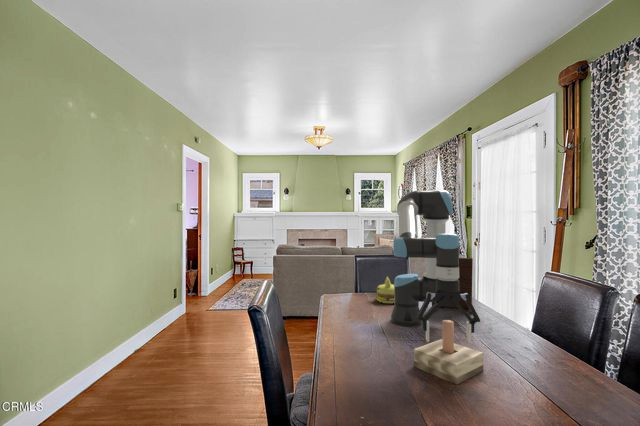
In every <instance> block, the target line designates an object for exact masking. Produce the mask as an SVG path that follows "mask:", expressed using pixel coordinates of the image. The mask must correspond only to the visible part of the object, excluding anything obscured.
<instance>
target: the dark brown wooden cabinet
mask: <svg viewBox="0 0 640 426" xmlns="http://www.w3.org/2000/svg"><path fill="white" fill-rule="evenodd" d="M473 260H474V258H473V257H459V279H457V280H459V288H460V294H464V293H467V294H469V295H470V301H471V303H472V302H473V264H474V263H473ZM434 303H435V302H431V307H432V306H433V305H434ZM458 303H459V304H460V305H461V306H462V307H463V309H464V310H465V311H466V312H467V313H468V314H469V316H473V315H472V313H471V311H470V309H469V307H468V306H467V304H466V302H465V300H463V298H461V299H460V300H459V301H458ZM472 304H473V303H472ZM439 309H444V310H452V311H453V310H455V311H460V310H459V309H458V307H457V306H456V305H455V306H453V307H449V306H447V307H444V306H442V305H441V307H440V308H439ZM436 312H437V310H436V311H435V312H434V313H436Z"/></svg>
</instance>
